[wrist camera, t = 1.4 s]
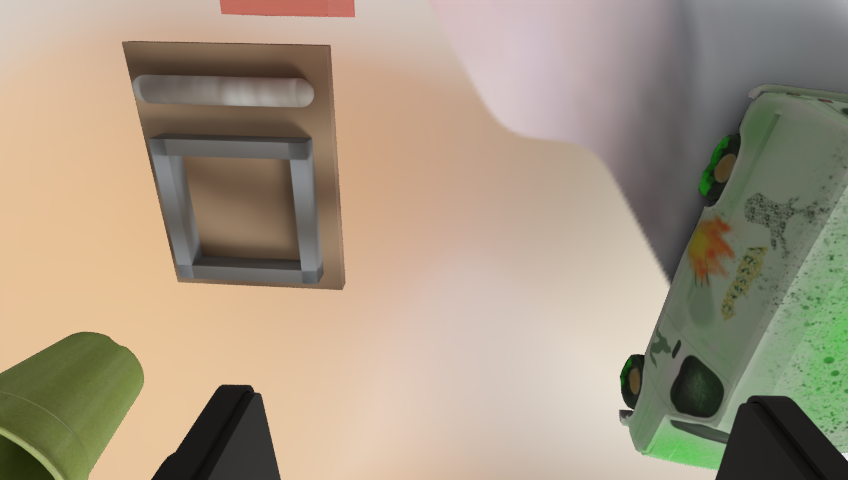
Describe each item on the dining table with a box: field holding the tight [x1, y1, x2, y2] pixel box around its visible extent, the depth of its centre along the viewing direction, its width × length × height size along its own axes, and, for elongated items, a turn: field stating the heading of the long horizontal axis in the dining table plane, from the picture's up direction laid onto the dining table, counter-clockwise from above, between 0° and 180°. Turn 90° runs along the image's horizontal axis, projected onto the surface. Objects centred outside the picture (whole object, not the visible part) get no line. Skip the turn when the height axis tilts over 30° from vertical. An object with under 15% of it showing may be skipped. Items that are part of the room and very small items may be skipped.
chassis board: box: [122, 41, 345, 290], centre depth 30 cm, size 16×12×3 cm
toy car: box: [619, 84, 848, 470], centre depth 28 cm, size 11×25×10 cm, turn 173°
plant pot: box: [0, 332, 144, 480], centre depth 34 cm, size 12×12×11 cm
